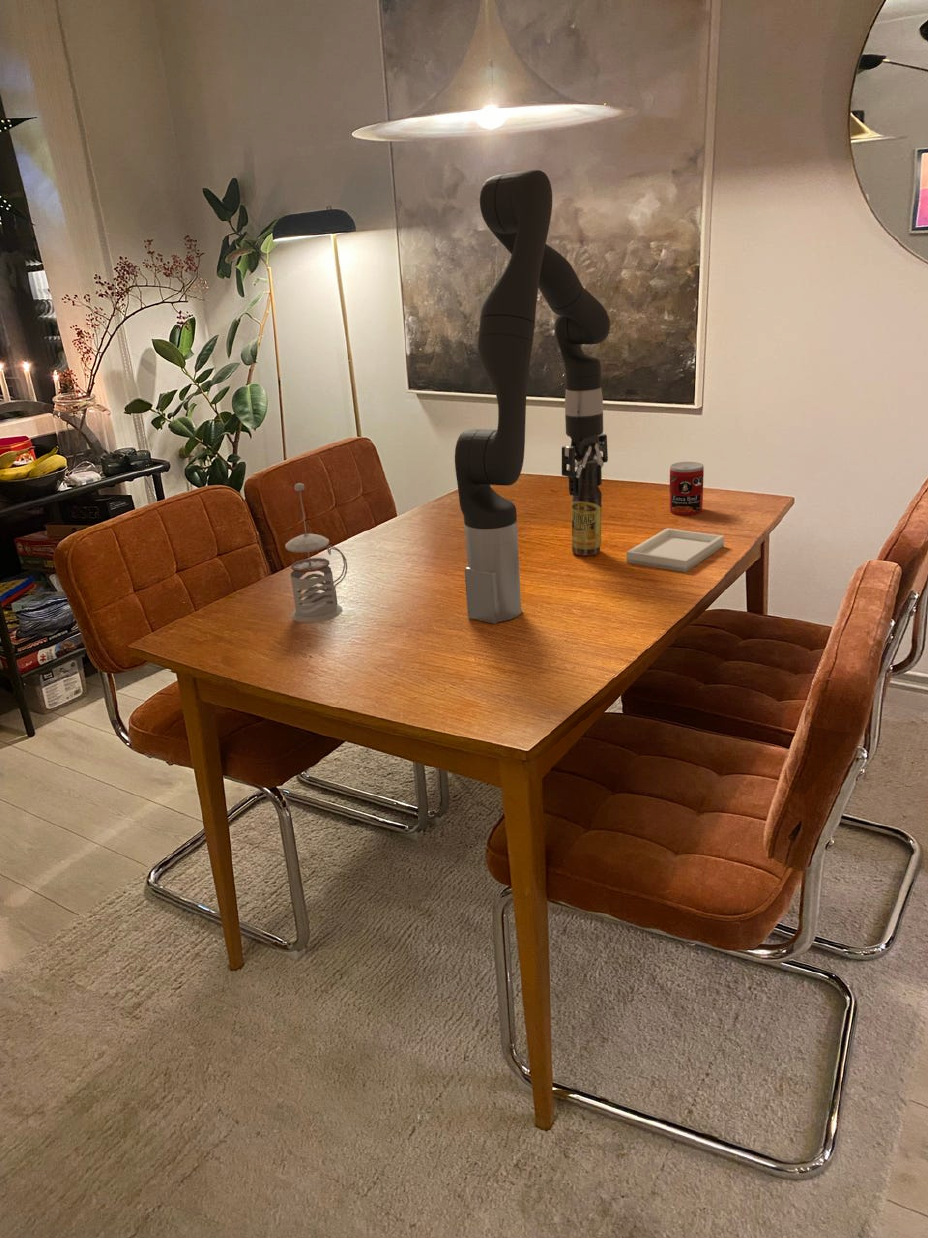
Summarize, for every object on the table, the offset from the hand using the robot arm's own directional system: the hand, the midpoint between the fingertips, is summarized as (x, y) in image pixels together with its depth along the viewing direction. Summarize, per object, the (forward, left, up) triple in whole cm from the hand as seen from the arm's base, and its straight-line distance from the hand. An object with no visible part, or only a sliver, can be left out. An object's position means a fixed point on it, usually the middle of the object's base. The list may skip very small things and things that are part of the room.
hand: (585, 490), depth 192 cm
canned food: (+37, -5, -14) cm, 40 cm away
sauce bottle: (0, 0, -14) cm, 14 cm away
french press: (-52, +27, -14) cm, 60 cm away
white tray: (+7, -17, -14) cm, 23 cm away
